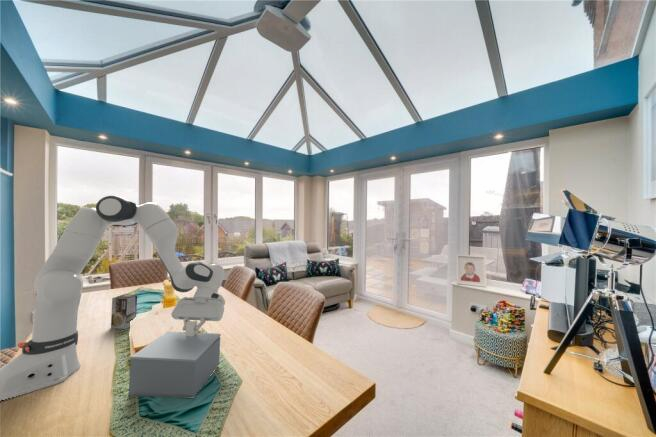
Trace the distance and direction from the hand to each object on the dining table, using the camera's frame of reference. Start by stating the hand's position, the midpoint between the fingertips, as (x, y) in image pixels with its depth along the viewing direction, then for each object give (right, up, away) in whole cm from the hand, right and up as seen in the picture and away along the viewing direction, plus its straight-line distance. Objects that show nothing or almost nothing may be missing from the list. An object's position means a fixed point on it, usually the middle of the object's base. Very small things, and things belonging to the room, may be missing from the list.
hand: (190, 330), depth 95 cm
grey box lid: (0, -3, -6) cm, 7 cm away
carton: (-1, -15, -7) cm, 17 cm away
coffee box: (-57, -14, +35) cm, 68 cm away
